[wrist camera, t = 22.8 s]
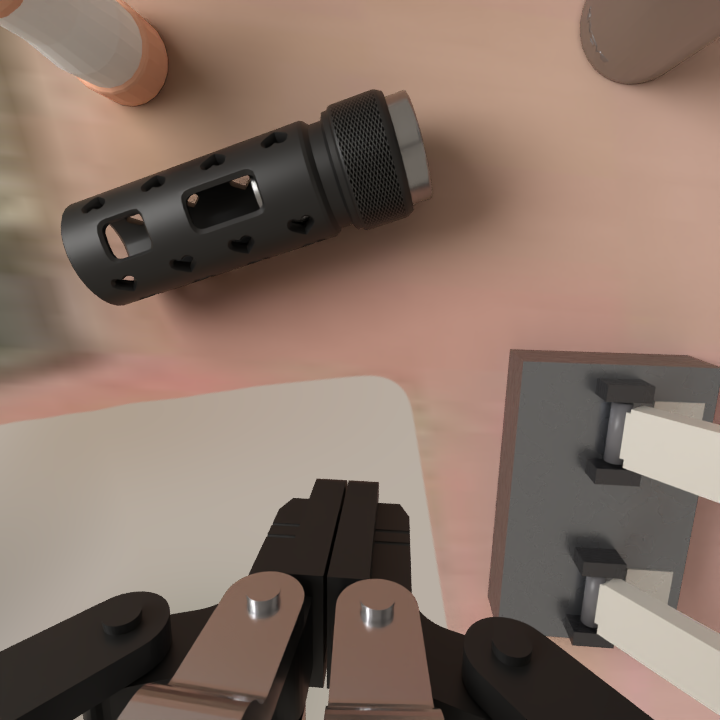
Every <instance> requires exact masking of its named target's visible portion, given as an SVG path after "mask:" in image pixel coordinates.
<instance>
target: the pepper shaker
mask: <svg viewBox="0 0 720 720" xmlns="http://www.w3.org/2000/svg"><path fill="white" fill-rule="evenodd" d="M0 26H2V27H4V28H5V29H7V30H9V31H11V32H12V33H14V34H16V35H17V36H19V37H21V38H23V39H24V40H25V41H27V42H28V43H29V44H30V45H32V46H33V47H34V48H35V49H36V50H38V51H39V52H40V53H41V54H43V55H44V56H45V57H46V58H47V59H49V60H50V61H51V62H52V63H54V64H55V65H56V66H57V67H59V68H60V69H62V70H64V71H66V72H69V73H71V74H73V75H75V76H76V77H77V78H78V79H79V80H80V81H81V82H82V83H83V84H84V85H86V86H87V87H88V88H90V89H91V90H93V91H95V92H97V93H99V94H101V95H103V96H105V97H107V98H109V99H111V100H113V101H115V102H117V103H119V104H121V105H128V106H137V105H141V104H144V103H147V102H148V101H150V100H151V99H152V98H154V97H155V96H156V95H157V94H158V92H159V91H160V90H161V88H162V87H163V85H164V82H165V79H166V76H167V72H168V57H167V53H166V49H165V45H164V43H163V41H162V39H161V37H160V36H159V34H158V32H157V31H156V30H155V29H154V28H153V27H152V26H151V25H150V24H149V23H148V22H147V21H146V20H144V19H143V18H142V17H141V16H140V15H139V14H138V13H137V12H136V11H134V10H133V9H132V8H131V7H130V6H129V5H128V4H127V3H126V2H124V1H121V0H0Z"/></svg>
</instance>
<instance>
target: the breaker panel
mask: <svg viewBox="0 0 720 720" xmlns="http://www.w3.org/2000/svg"><path fill="white" fill-rule="evenodd" d="M719 387H720V367H718V366H715V365H713V364H710V363H707V362H704V361H702V360H699V359H696V358H693V357H691V356H688V355H661V354H631V353H601V352H571V351H541V350H511V349H510V356H509V368H508V379H507V390H506V401H505V412H504V423H503V434H502V445H501V456H500V468H499V479H498V490H497V501H496V512H495V523H494V534H493V545H492V556H491V568H490V579H489V590H488V598H489V602H490V606H491V610H492V614H493V617H506V618H511V619H515V620H519V621H521V622H524V623H526V624H528V625H530V626H532V627H534V628H535V629H536V630H538V631H539V632H541V633H542V634H543V635H545V636H552V637H565V638H569V639H570V641H571V643H572V645H576V646H589V647H602V648H613V647H614V645H613V644H612V643H610V642H609V641H607V640H606V639H604V638H603V637H601V636H600V635H598V634H597V629H598V627H597V628H591V627H588V626H586V625H584V624H583V623H582V622H581V619H580V618H581V611H582V604H583V597H584V590H585V583H586V576H587V577H602V578H607V579H606V580H607V581H610V580H612V579H613V578H617V579H622V580H624V581H625V582H627V583H629V584H631V585H633V586H634V587H636V588H638V589H640V590H642V591H643V592H645V593H647V594H649V595H651V596H653V597H654V598H656V599H658V600H660V601H662V602H663V603H665V604H667V605H669V606H671V607H672V608H674V609H677V604H678V599H679V594H680V589H681V583H682V578H683V573H684V568H685V563H686V558H687V552H688V547H689V542H690V537H691V532H692V527H693V521H694V516H695V511H696V506H697V501H698V495H696V494H693V493H690V492H687V491H685V490H682V489H679V488H676V487H674V486H671V485H668V484H666V483H663V482H660V481H657V480H655V479H652V478H649V477H646V476H644V475H641V474H638V473H636V472H633V471H630V470H627V469H625V468H623V465H615V464H611V463H608V462H606V461H605V460H604V452H605V445H606V438H607V431H608V424H609V417H610V410H611V403H612V402H621V403H634V406H633V409H634V408H637V407H640V406H643V405H644V406H648V407H652V408H656V409H660V410H664V411H668V412H672V413H676V414H680V415H684V416H687V417H691V418H695V419H699V420H703V421H707V422H711V423H713V418H714V413H715V408H716V403H717V398H718V392H719Z"/></svg>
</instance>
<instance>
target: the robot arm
mask: <svg viewBox="0 0 720 720" xmlns="http://www.w3.org/2000/svg"><path fill="white" fill-rule="evenodd" d="M580 37H581V42H582V47H583V50H584V52H585V55H586V57H587V59H588V61H589V62H590V63H591V65H592V66H593V67H594V69H595V70H597V71H598V72H599V73H600V74H602V75H603V76H604V77H606V78H608V79H610V80H612V81H615V82H619V83H624V84H639V83H643V82H647V81H651V80H653V79H655V78H657V77H659V76H661V75H663V74H665V73H666V72H668V71H669V70H671V69H672V68H674V67H675V66H677V65H678V64H680V63H681V62H683V61H684V60H686V59H687V58H689V57H690V56H692V55H693V54H695V53H697V52H698V51H700V50H701V49H703V48H704V47H706V46H707V45H709V44H710V43H711V42H713V41H714V40H716V39H717V38H719V37H720V0H586V2H585V5H584V7H583V11H582V16H581V21H580ZM378 498H379V482H367V481H349V482H348V486H347V480H332V479H331V480H330V479H317V480H316V482H315V485H314V487H313V490H312V493H311V495H310V498H309V499H301V498H293V499H292V500H290V501H289V502H288V503H286V504H285V505H284V506H283V507H282V508H280V509H279V511H278V513H277V515H276V517H275V519H274V522H273V525H272V526H271V528H270V531H269V532H268V536H267V537H266V539H265V541H264V543H263V545H262V547H261V549H260V551H259V554H258V556H257V558H256V560H255V562H254V564H253V566H252V569H251V571H250V573H249V575H248V576H246V577H244V578H242V579H240V580H238V581H237V582H235V583H234V584H233V585H232V586H231V587H230V588H229V589H228V590H227V591H226V593H225V594H224V596H223V598H222V599H221V601H220V602H219V604H217V605H214V606H211V607H208V608H205V609H200V610H195V611H189V612H183V613H177V614H171V615H170V609H169V605H168V603H167V601H166V600H165V599H164V598H163V597H162V596H159V595H158V594H155V593H151V592H130V593H126V594H121V595H118V596H115V597H113V598H110V599H108V600H106V601H104V602H102V603H100V604H98V605H95V606H94V607H91V608H89V609H87V610H85V611H83V612H81V613H79V614H77V615H75V616H73V617H71V618H69V619H67V620H65V621H62V622H60V623H58V624H56V625H54V626H52V627H50V628H48V629H46V630H44V631H42V632H40V633H38V634H36V635H34V636H32V637H30V638H27V639H25V640H23V641H21V642H19V643H17V644H15V645H13V646H11V647H9V648H7V649H5V650H3V651H1V652H0V720H73V719H75V718H77V717H78V716H80V715H81V714H83V719H84V720H306V712H305V711H306V708H305V707H306V705H305V704H306V698H307V693H308V688H309V687H319V688H323V687H324V681H325V676H326V670H327V688H328V689H330V690H329V701H328V706H326V709H325V715H324V720H654V719H652V718H651V717H650V716H649V715H647V714H646V713H645V712H643V711H642V710H641V709H639V708H638V707H637V706H636V705H634V704H633V703H632V702H630V701H629V700H628V699H626V698H625V697H624V696H623V695H621V694H620V693H619V692H617V691H616V690H615V689H613V688H612V687H611V686H610V685H608V684H607V683H606V682H604V681H603V680H602V679H600V678H599V677H598V676H597V675H595V674H594V673H593V672H591V671H590V670H589V669H588V668H586V667H585V666H584V665H582V664H581V663H580V662H578V661H577V660H576V659H575V658H573V657H572V656H571V655H569V654H568V653H567V652H565V651H564V650H563V649H562V648H560V647H559V646H558V645H556V644H555V643H554V642H552V641H551V640H550V639H549V638H547V637H546V636H545V635H543V634H542V633H541V632H539V631H538V630H536V629H535V628H534V627H532V626H530V625H528V624H526V623H524V622H521V621H519V620H515V619H511V618H506V617H489V618H485V619H481V620H479V621H477V622H475V623H474V624H473V625H471V627H470V628H469V629H468V630H467V632H466V634H465V635H463V634H460V633H457V632H454V631H451V630H448V629H446V628H443V627H440V626H439V625H437V624H435V623H433V622H431V621H430V620H429V619H427V618H426V617H425V616H424V615H423V614H422V613H421V612H420V611H419V607H418V604H417V601H416V599H415V597H414V596H413V595H412V589H411V561H410V560H411V557H410V530H409V529H410V527H409V516H408V515H407V513H406V512H405V511H404V509H403V508H402V507H401V505H400V504H386V503H378Z"/></svg>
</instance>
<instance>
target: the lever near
mask: <svg viewBox="0 0 720 720" xmlns="http://www.w3.org/2000/svg"><path fill="white" fill-rule="evenodd" d="M633 406H634V403H621V402H612V403H611V410H610V417H609V424H608V431H607V438H606V445H605V452H604V460H605V461H606V462H608V463H611V464H615V465H623V468H625V469H627V470H630V471H633V472H636V473H638V474H641V475H644V476H646V477H649V478H652V479H655V480H657V481H660V482H663V483H666V484H668V485H671V486H674V487H676V488H679V489H682V490H685V491H687V492H690V493H693V494H696V495H698V496H701V497H704V498H706V499H709V500H712V501H715V502H717V503H720V425H719V424H715V423H711V422H707V421H703V420H699V419H695V418H691V417H687V416H684V415H680V414H676V413H672V412H668V411H664V410H660V409H656V408H652V407H648V406H644V405H643V406H640V407H637V408H634V409H633Z"/></svg>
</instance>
